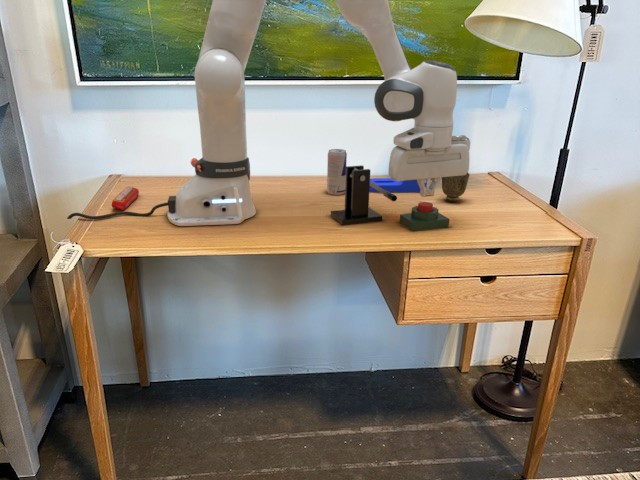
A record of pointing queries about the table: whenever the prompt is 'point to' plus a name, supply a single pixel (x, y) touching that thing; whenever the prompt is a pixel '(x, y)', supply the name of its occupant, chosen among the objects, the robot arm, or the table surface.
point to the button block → (424, 220)
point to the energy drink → (336, 171)
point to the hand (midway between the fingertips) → (426, 195)
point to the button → (425, 207)
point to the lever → (381, 190)
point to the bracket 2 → (396, 185)
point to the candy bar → (125, 198)
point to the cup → (454, 186)
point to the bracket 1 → (356, 199)
